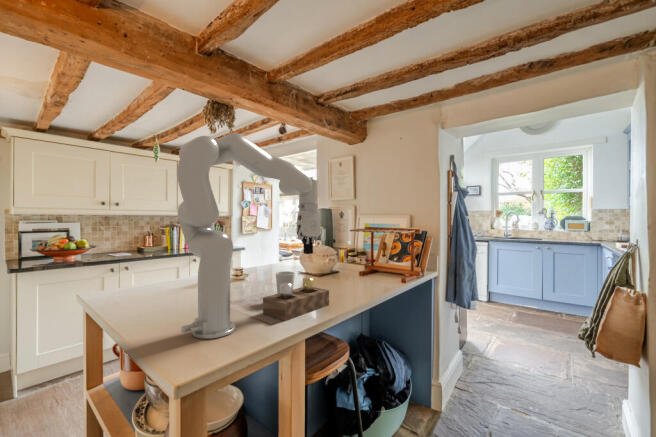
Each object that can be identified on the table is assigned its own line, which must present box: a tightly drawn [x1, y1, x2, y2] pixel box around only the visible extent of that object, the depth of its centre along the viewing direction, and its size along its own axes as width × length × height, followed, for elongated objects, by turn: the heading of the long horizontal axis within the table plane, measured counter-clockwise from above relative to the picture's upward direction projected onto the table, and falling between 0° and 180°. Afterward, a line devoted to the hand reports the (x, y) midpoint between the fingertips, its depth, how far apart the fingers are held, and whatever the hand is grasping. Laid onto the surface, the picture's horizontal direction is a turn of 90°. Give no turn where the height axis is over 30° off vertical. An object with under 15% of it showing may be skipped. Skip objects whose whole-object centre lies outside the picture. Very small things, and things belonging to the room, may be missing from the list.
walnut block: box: [262, 286, 330, 322], centre depth 114 cm, size 24×12×6 cm, turn 141°
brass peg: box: [302, 276, 315, 294], centre depth 118 cm, size 4×4×6 cm
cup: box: [275, 270, 296, 294], centre depth 124 cm, size 8×8×12 cm
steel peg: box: [280, 282, 292, 300], centre depth 109 cm, size 4×4×6 cm
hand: (308, 253), depth 118 cm, fingers closed
